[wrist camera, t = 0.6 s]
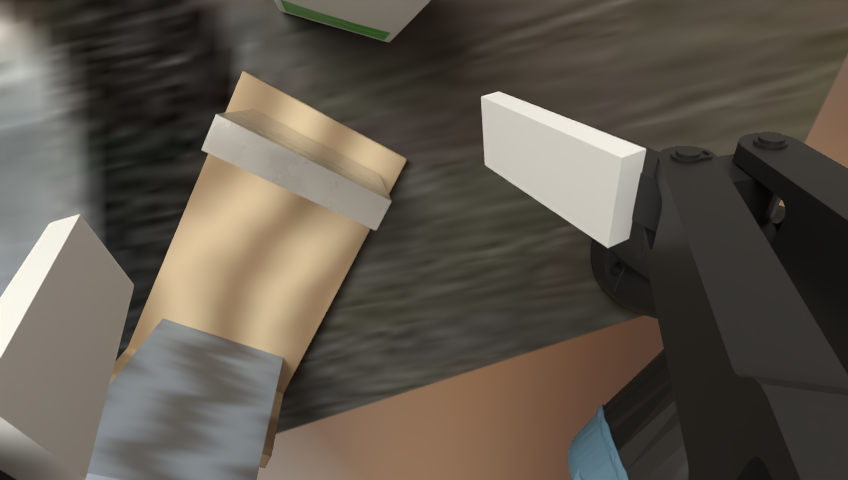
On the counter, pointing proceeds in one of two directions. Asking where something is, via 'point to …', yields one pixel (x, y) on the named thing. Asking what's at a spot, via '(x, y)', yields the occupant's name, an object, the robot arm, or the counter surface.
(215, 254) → the book rack
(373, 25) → the skincare box
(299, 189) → the grey rectangular slab
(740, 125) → the counter surface
